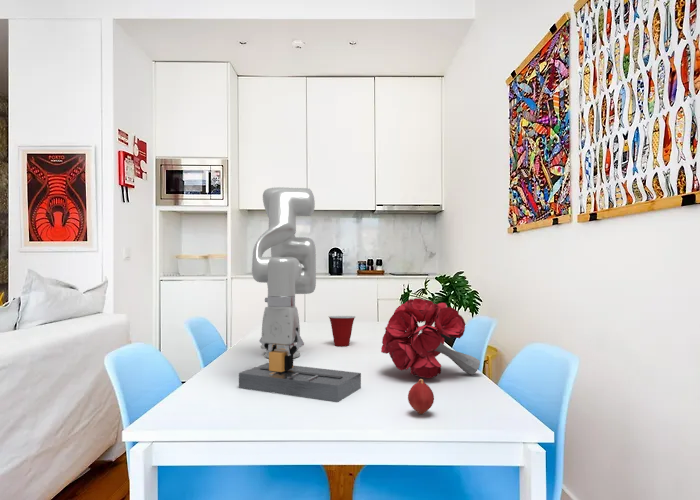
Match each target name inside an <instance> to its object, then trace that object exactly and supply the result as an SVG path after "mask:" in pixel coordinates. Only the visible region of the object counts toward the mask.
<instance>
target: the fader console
mask: <svg viewBox="0 0 700 500" xmlns="http://www.w3.org/2000/svg"><path fill="white" fill-rule="evenodd" d="M361 377H362V373H361V372H356V371H355V372H354V371H345V370H337V369H327V368H319V367H311V366H309V367H308V366H304V365H303V366H301V365H295V364H293V368H292V369H290V370H287V371H286V370H285V371H283V372H277V371H269V362H267V363H264V364H261V365H258V366H255V367H252V368H250V369H245V370H244V371H240V372H239V373H238V388H239V389H243V390H251V389H252V390H253V391H259V392H266V393H272V394H279V395H288V396H292V397H299V398H300V397H302V398H307V399H315V400H322V401H329V402H334V403H335V402H336V403H338V402H340V401H342V400H344V399H345V398H347V397H349V396H350V395H351V394H353V393H355V392H357V391H358V390H359V389H361V388H362V378H361ZM252 390H251V391H252Z"/></svg>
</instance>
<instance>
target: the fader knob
mask: <svg viewBox="0 0 700 500" xmlns="http://www.w3.org/2000/svg"><path fill="white" fill-rule="evenodd" d="M285 356H286V349H282V348H281V349H274V351H271V352H269V358H268V363H269V371H277V372H283V371H285Z"/></svg>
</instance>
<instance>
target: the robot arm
mask: <svg viewBox="0 0 700 500" xmlns="http://www.w3.org/2000/svg"><path fill="white" fill-rule="evenodd" d="M262 202H263V206H264V210H265V212H266V214H267V217H268V229H267V230H266V231H264V232H263V233H262V234H261V235H260V237H259V238H258V239H257V241H256V242H255V244H254V247H253V250H252V259H251V275H252V278H253V279H254V281H255V282H257V283H260V284H261V283H265V284H266V285H267V297H264V302H265V303H267V306H265V307H264V311H263V315H262V322H261V323H262V326H261V337H260V338H259V340H258V341H259V343H260V344H261V345H260V349H262V350H266V351H265V352H264V357H265V358H266V359H269V352H271V351H274V349H281V348H282V349H286V356H285V370H286V371H287V370H290V369H292V368H293V365H294V359H295V358H298V357H300V356H301V352H300V351H299V349H300V348H302V347H303V346H304V345H305V342H304V340H303V339H302V337H301V328H300V327H301V326H300V316H299V311H298V307H297V306H296V295H310V294H312V293H314V292H315V290H316V286H317V285H316V284H317V258H316V257H317V254H316V246H315V245H316V244H315V241H314V240H313V239H312V238H310V237H304V236H303V237H302V236H299V237H297V236H296V232H297V223H296V222H297V218H296V217H311V216H312V215H313V214H314V212H315V206H316V205H315V204H316V203H315V202H316V200H315V196H314V193H313V191H312V189H311V188H308V187H284V186H283V187H280V186H279V187H270V188H266V189H264V191H263V194H262ZM269 249H270V255H271V256H263V254H264V253H265V252H266V251H267V250H269ZM302 266H303V267H302Z"/></svg>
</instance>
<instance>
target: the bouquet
mask: <svg viewBox="0 0 700 500" xmlns="http://www.w3.org/2000/svg"><path fill="white" fill-rule="evenodd" d="M404 302H405V301H404ZM420 323H424V324H423V325H419V324H420ZM433 324H434V325H433ZM384 330H385V332H384V333H383V337H382V341H381V343H382V344H381V345H382V346H381V350H380V351H381V353H383V354H389V356H390V358H391V361H392V362H393V364H394V365H395V368H396V369H398V370H400V371H401V372H402V371H404V370H405V371H408V370H409V369H410V374H411V375H412V376H416V377H419V378H426V379H429V378H430V379H431V378H432V379H433V378H434V377H437V376H438V375H441V374H442V364H441V363H440V362H439V360H438V359H437V356H439V355H440V354H442V355H444V356H446V357H447V358H449V359H450V360H452V362H453V363H454V364H455V365H456V366H458V368H459V369H461V370H462V371H463V372H465V373H466V374H469V375H470V376H475V374H476V373H477V372H478V370H479V368H480V366H481V365H480V364H481V360H479V359H478V358H476V357H475V356H472V355H469V354H467V353H464V352H459V351H458V350H457V351H456V350H454V349H452V348H449V347H447V345H445V340H446V339H445V337H443V336H446V337H448V338H450V339H451V338H452V337H453V338H456V339H461V338H462V337H463V336H464V334H465V330H466V321H465V320H464V317H463V316H462V315H460V313H459V311H458V310H456V309H455V308H453V307H450V306H448V304H447V302H439V303H434V302H433V301H432V300H428V299H424V298H420V297H419V298H417V297H416V298H414V299H413V298H411V299H408V300H407V301H406V302H405V303H401V304H400V305H399V306H397V307H396V308H395V310H394V312H393V314H392V316H391V317H390V318H389V319H388V323H387V324H386V326H385V327H384ZM442 335H443V336H442Z"/></svg>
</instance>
